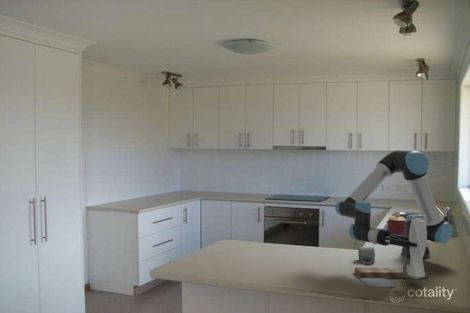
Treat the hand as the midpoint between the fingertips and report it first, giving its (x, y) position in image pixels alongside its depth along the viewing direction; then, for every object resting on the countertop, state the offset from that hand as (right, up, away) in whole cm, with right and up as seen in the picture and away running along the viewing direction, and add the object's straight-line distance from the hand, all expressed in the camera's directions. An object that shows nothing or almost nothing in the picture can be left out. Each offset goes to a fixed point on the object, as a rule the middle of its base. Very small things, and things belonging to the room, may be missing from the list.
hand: (428, 245), depth 201 cm
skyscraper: (-4, -15, +4) cm, 16 cm away
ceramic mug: (-15, -17, +40) cm, 46 cm away
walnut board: (-11, -17, +17) cm, 27 cm away
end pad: (-21, -18, +4) cm, 28 cm away
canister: (+20, -16, +96) cm, 99 cm away
